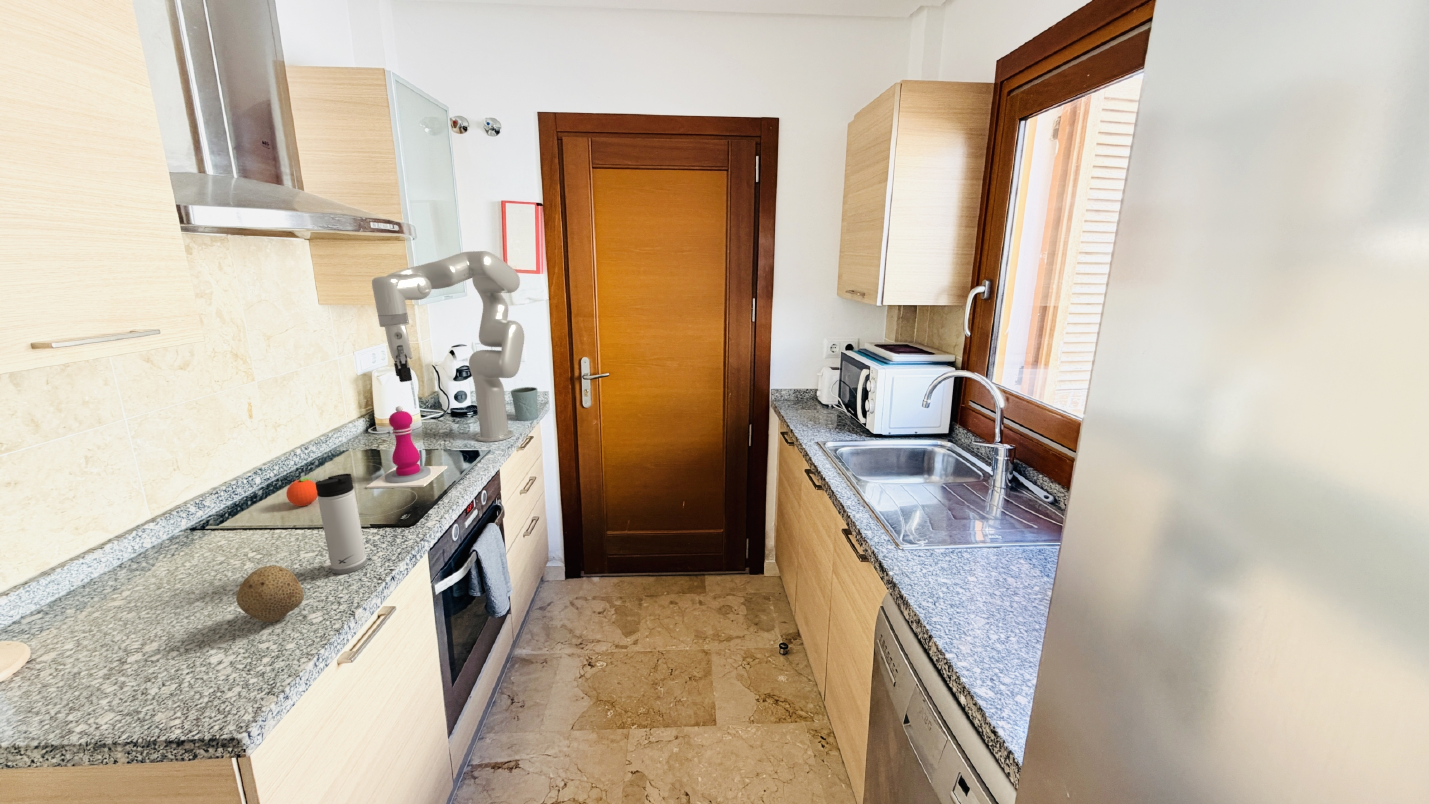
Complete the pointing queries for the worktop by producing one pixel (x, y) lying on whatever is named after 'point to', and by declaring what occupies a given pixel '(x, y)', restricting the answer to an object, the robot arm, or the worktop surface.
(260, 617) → the brown potato
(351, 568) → the travel mug
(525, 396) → the green plant pot
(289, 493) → the clementine
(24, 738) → the worktop surface
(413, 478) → the cream square board
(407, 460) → the pepper mill
